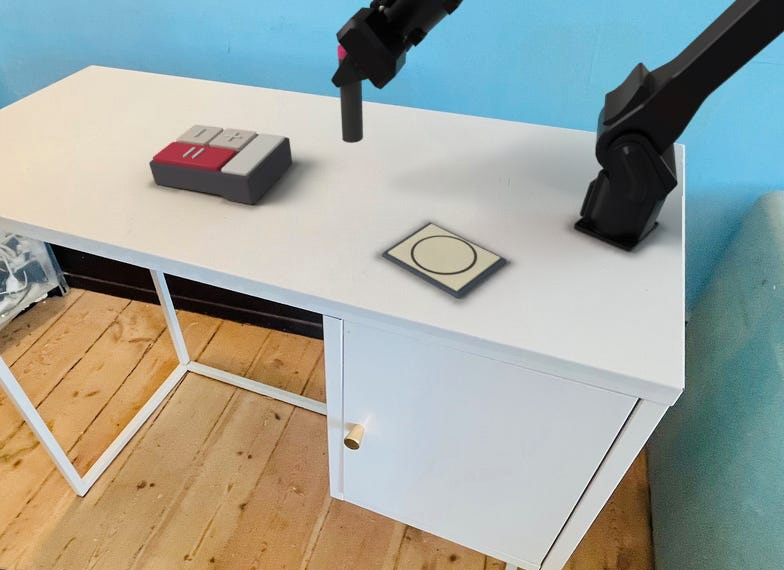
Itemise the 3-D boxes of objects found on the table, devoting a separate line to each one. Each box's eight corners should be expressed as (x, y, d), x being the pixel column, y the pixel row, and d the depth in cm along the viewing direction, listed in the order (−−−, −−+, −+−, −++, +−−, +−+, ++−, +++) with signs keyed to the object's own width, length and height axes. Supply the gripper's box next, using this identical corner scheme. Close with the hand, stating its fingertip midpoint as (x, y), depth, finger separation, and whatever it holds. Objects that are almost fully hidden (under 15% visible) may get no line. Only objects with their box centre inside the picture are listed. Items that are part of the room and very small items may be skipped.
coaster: (505, 262, 59) (507, 257, 58) (458, 298, 55) (459, 293, 55) (429, 225, 64) (430, 220, 64) (381, 256, 61) (382, 251, 60)
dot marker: (365, 134, 67) (363, 41, 59) (360, 143, 65) (357, 50, 58) (345, 133, 67) (341, 41, 60) (339, 142, 66) (334, 50, 59)
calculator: (193, 120, 78) (290, 131, 72) (200, 150, 81) (293, 163, 75) (145, 157, 71) (247, 172, 66) (155, 188, 74) (253, 205, 69)
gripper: (423, -135, 54) (319, -9, 65) (361, -98, 42) (247, 48, 54) (492, -34, 57) (382, 70, 69) (451, 26, 46) (327, 139, 57)
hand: (338, 78), depth 62 cm, fingers closed on dot marker, 2 cm apart
